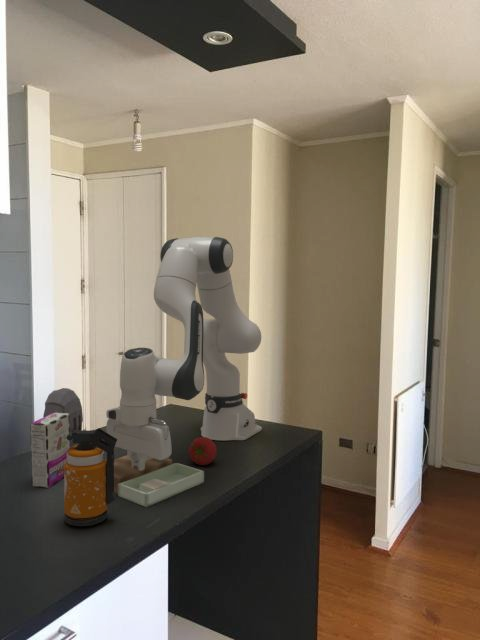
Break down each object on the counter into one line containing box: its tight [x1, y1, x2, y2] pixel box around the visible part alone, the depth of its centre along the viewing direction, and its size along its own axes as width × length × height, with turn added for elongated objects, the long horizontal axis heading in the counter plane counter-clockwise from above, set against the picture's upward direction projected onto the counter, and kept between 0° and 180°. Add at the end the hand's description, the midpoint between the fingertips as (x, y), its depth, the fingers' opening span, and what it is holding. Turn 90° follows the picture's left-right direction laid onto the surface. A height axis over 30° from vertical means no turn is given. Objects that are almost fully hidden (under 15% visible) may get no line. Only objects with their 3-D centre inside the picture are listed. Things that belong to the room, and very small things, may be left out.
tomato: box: [188, 436, 218, 466], centre depth 155 cm, size 8×8×8 cm
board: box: [114, 454, 173, 495], centre depth 143 cm, size 18×12×4 cm, turn 142°
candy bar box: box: [29, 413, 70, 489], centre depth 141 cm, size 11×5×16 cm, turn 168°
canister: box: [63, 427, 118, 527], centre depth 118 cm, size 9×11×20 cm
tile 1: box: [140, 479, 169, 493], centre depth 132 cm, size 5×5×2 cm
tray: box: [117, 462, 205, 508], centre depth 137 cm, size 20×10×3 cm, turn 142°
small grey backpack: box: [42, 387, 84, 448], centre depth 160 cm, size 15×8×20 cm, turn 170°
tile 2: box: [126, 450, 153, 461], centre depth 147 cm, size 5×5×2 cm
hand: (138, 469), depth 136 cm, fingers closed
